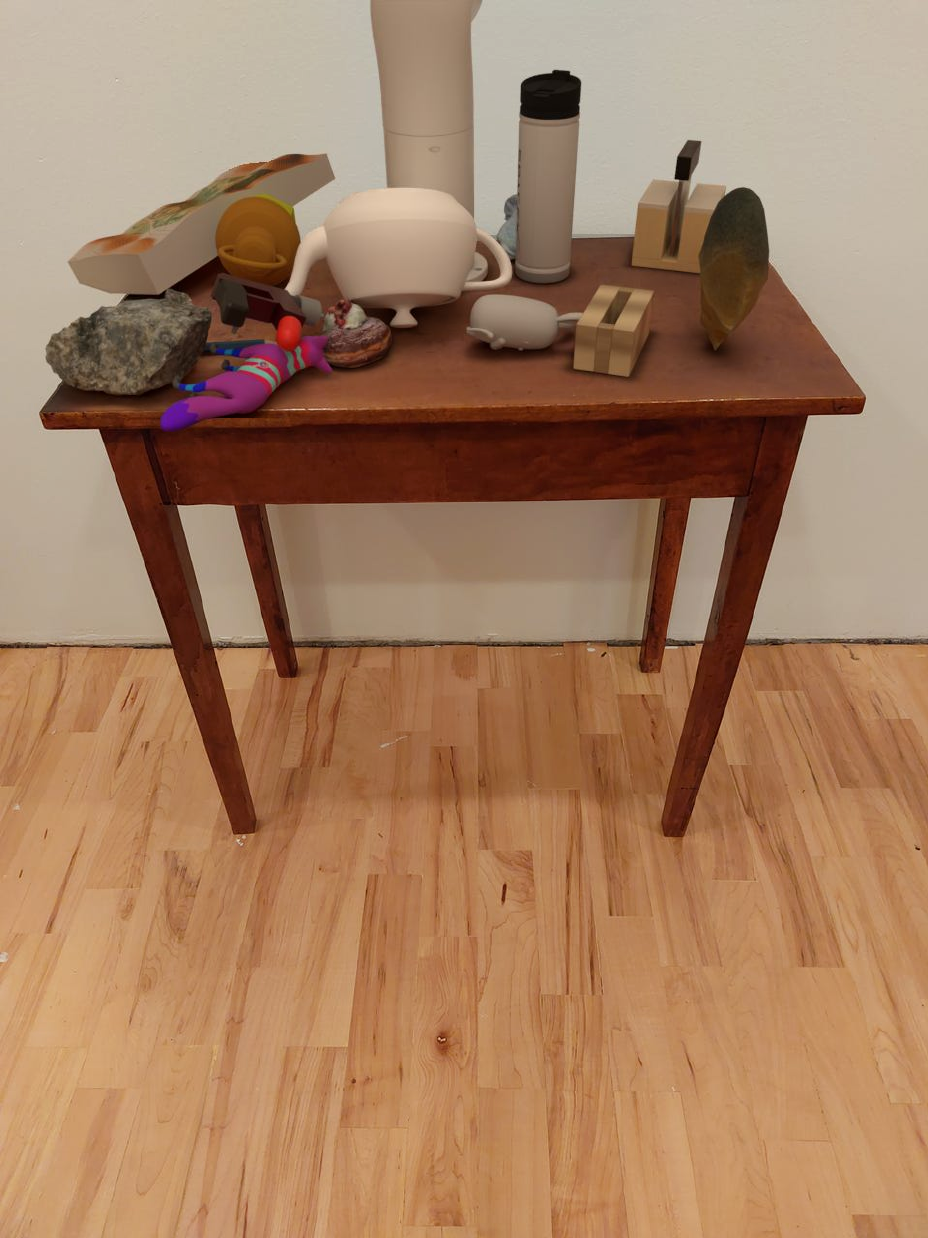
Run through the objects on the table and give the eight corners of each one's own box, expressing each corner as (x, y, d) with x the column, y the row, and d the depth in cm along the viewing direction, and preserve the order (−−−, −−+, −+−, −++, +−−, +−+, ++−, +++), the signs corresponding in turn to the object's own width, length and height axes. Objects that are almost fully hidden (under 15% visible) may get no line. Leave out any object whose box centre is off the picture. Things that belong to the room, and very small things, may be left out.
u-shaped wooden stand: (631, 265, 108) (638, 201, 103) (645, 240, 114) (653, 178, 109) (705, 274, 105) (715, 209, 101) (716, 247, 112) (726, 185, 107)
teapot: (534, 180, 86) (537, 317, 89) (488, 217, 101) (492, 333, 103) (263, 174, 80) (275, 320, 83) (256, 213, 95) (266, 337, 97)
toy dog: (248, 346, 91) (343, 360, 89) (150, 444, 79) (257, 463, 77) (241, 310, 89) (339, 323, 86) (138, 406, 76) (248, 425, 74)
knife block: (628, 377, 86) (634, 331, 83) (572, 369, 88) (576, 323, 85) (648, 334, 93) (654, 290, 90) (596, 327, 95) (600, 283, 92)
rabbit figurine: (469, 329, 86) (593, 347, 87) (473, 278, 87) (597, 297, 88) (460, 357, 92) (577, 374, 93) (465, 309, 93) (580, 326, 94)
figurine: (570, 210, 115) (561, 164, 110) (560, 281, 110) (550, 237, 105) (510, 218, 118) (498, 173, 112) (498, 287, 113) (484, 244, 107)
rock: (28, 269, 78) (78, 281, 88) (30, 387, 81) (78, 387, 91) (192, 286, 78) (224, 297, 88) (188, 404, 81) (220, 402, 91)
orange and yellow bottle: (226, 248, 114) (202, 303, 94) (231, 169, 109) (207, 208, 89) (299, 262, 116) (292, 318, 95) (308, 185, 111) (301, 227, 91)
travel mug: (578, 267, 107) (591, 71, 94) (558, 287, 103) (569, 84, 90) (528, 259, 109) (535, 67, 96) (506, 279, 105) (510, 79, 92)
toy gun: (323, 295, 89) (304, 339, 92) (206, 262, 81) (189, 311, 84) (362, 348, 84) (341, 393, 86) (241, 318, 76) (222, 369, 78)
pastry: (322, 334, 94) (317, 285, 90) (396, 334, 94) (393, 285, 90) (310, 370, 88) (303, 319, 84) (388, 370, 88) (385, 319, 84)
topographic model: (158, 294, 98) (135, 248, 95) (85, 292, 106) (61, 250, 103) (335, 178, 113) (320, 135, 110) (258, 185, 121) (242, 145, 118)
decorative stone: (674, 330, 94) (697, 173, 84) (732, 328, 94) (762, 171, 84) (699, 374, 87) (728, 207, 77) (762, 371, 87) (799, 205, 77)
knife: (677, 259, 106) (691, 157, 99) (663, 257, 107) (677, 155, 99) (687, 239, 111) (701, 140, 104) (674, 237, 112) (687, 139, 104)
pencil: (130, 354, 91) (283, 345, 92) (128, 358, 90) (282, 349, 91) (127, 346, 90) (281, 336, 91) (126, 350, 89) (281, 340, 91)
